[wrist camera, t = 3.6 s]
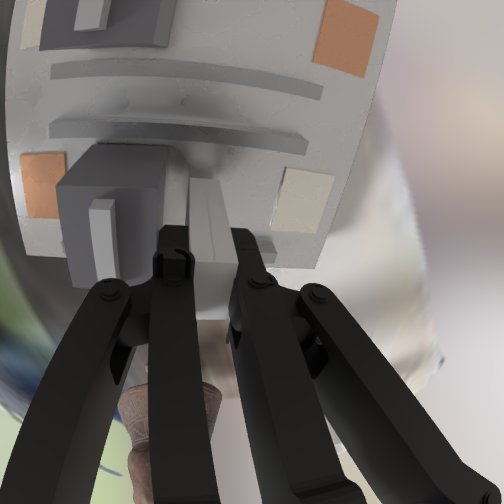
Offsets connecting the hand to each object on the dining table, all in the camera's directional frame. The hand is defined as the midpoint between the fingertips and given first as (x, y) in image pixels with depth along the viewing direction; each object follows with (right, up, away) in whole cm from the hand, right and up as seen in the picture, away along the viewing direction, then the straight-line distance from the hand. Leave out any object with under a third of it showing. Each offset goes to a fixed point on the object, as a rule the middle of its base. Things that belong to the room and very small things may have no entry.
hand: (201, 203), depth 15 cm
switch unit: (-1, +7, 0) cm, 7 cm away
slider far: (-4, +1, 0) cm, 4 cm away
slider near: (-3, +9, -6) cm, 11 cm away
